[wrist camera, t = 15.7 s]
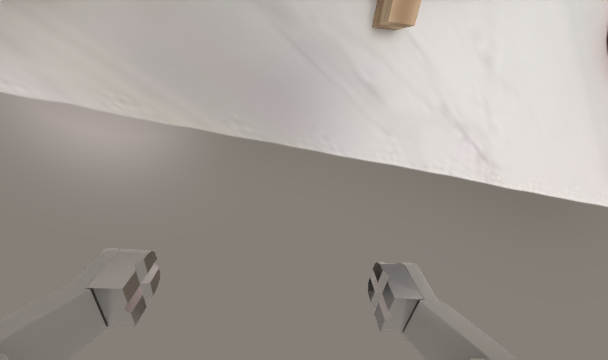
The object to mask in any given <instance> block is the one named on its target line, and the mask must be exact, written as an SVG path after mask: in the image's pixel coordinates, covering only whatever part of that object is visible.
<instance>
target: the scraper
mask: <svg viewBox="0 0 608 360" xmlns="http://www.w3.org/2000/svg"><path fill="white" fill-rule="evenodd" d="M420 3H421V0H378V1H377V5H376V10H375V15H374V20H373V25H372V27H375V28H382V29H389V30H398V29H402V28H406V27H410V26H414V25H415V22H416V18H417V14H418V11H419V7H420Z"/></svg>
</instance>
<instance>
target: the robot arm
mask: <svg viewBox="0 0 608 360" xmlns="http://www.w3.org/2000/svg"><path fill="white" fill-rule="evenodd" d="M156 260H157V257H156V254H155V252H153V251H145V250H131V249H114V248H113V249H112V248H107V249H105V250H102V251H101V252H100V253H99V255H97V256H96V257H95V258H94V260H93V261H92V262H91V263H90V264H89V265H88V266H87V267H86V268H85V269H84V270H83V271H82V272H81V273H80V274H79V275H78V276H77V277H76V278H75V279H74V280H73V281H72V282H71V283H70V284H69V286H67V287H66V288H60V289H58V290H56V291H54V292H52V293H50V294H48V295H46V296H44V297H42V298H40V299H38V300H36V301H34V302H32V303H31V304H29V305H27V306H25V307H23V308H21V309H19V310H17V311H15V312H13V313H11V314H10V315H7V316H5V317H4V318H2V319H0V360H69V359H70V358H71V357H73V356H74V355H75V354H76V353H78V352H79V351H80V350H81V349H82V348H84V347H85V346H86V345H87V344H88V343H90V342H91V341H92V340H93V339H95V338H96V337H97V336H98V335H99V334H101V333H102V332H103V331H104V330H106V329H107V327H118V326H119V327H120V326H121V327H127V326H128V327H129V326H136V324H137V323H138V321H139V319H140V317H141V316H142V314H143V312H144V311H145V309H146V303H145V301H146V300H147V299H149V298H150V297H152V296H153V295H154V293H155V291H156V289H157V287H158V283H159V280H160V270H159V267H157V266H156V265H155V264H154V263H155V261H156ZM373 271H374V274H373V275H372V276H371V277H370V279H369V282H368V294H369V298H370V302H371V303H372V304H373V305H374V306H375V307H376V311H375V313H374V314H375V317H376V320H377V323H378V326H379V330H380V331H381V332H399V333H403V335H404V336H405V337H406V338H407V340H408V341H409V342H410V343H411V344H412V345H413V347H414V348H415V349H416V350H417V351H418V352H419V354H420V355H421V356H422V357H423V358H424V359H425V360H517V358H516V357H514V356H513V355H512V354H511V353H509V352H508V351H506V350H505V349H504V348H503V347H501V346H500V345H499V344H498V343H496V342H495V341H494V340H492V339H491V338H490V337H488V336H487V335H486V334H485V333H483V332H482V331H481V330H479V329H478V328H477V327H475V326H474V325H473V324H472V323H470V322H469V321H468V320H466V319H465V318H464V317H463V316H461V315H460V314H458V313H457V312H456V311H455V310H453V309H452V308H451V307H450V306H448V305H447V304H446V303H444V302H443V301H438V299H437V297H436V296H435V294H434V293H433V291H432V289H431V288H430V286H429V285H428V283H427V281H426V279H425V278H424V276H423V274H422V273H421V271H420V269H419V268H418V266H417V265H416V264H415V263H393V262H376V263H375V264H374V267H373Z"/></svg>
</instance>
